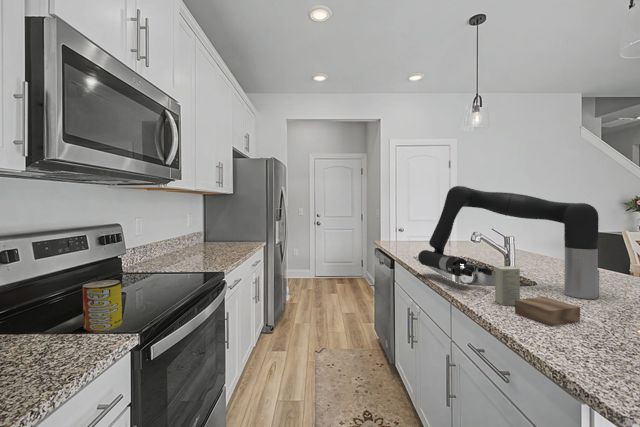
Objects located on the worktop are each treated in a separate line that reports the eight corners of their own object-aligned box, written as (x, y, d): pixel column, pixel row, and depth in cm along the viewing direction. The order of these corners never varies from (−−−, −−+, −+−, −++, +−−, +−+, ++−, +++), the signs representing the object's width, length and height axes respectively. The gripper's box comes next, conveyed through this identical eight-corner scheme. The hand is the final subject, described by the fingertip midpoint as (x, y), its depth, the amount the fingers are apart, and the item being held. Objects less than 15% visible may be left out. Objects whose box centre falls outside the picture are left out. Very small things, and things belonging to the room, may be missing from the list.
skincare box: (513, 301, 109) (513, 266, 109) (520, 305, 105) (520, 268, 104) (494, 301, 110) (494, 265, 110) (500, 305, 105) (500, 268, 105)
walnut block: (542, 310, 101) (542, 296, 100) (579, 323, 90) (580, 307, 90) (515, 314, 97) (515, 299, 97) (550, 327, 87) (550, 311, 87)
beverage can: (79, 326, 90) (78, 284, 90) (116, 318, 97) (115, 278, 97) (88, 334, 84) (87, 289, 84) (126, 325, 91) (125, 283, 91)
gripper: (438, 256, 132) (465, 264, 116) (467, 255, 135) (497, 262, 120) (437, 275, 132) (464, 284, 116) (467, 273, 136) (497, 282, 120)
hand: (481, 273), depth 118 cm, fingers open, 8 cm apart
